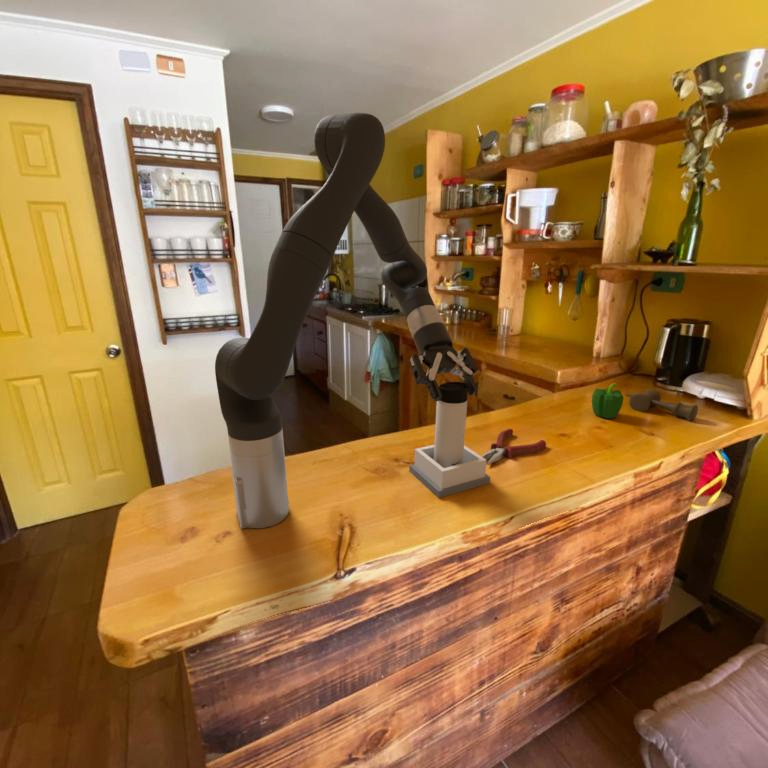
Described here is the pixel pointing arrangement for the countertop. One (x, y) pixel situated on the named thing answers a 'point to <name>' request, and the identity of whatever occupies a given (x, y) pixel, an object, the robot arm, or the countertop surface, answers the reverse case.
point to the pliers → (511, 448)
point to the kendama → (660, 404)
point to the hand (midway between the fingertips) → (456, 396)
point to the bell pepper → (607, 402)
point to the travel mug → (451, 424)
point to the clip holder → (449, 472)
